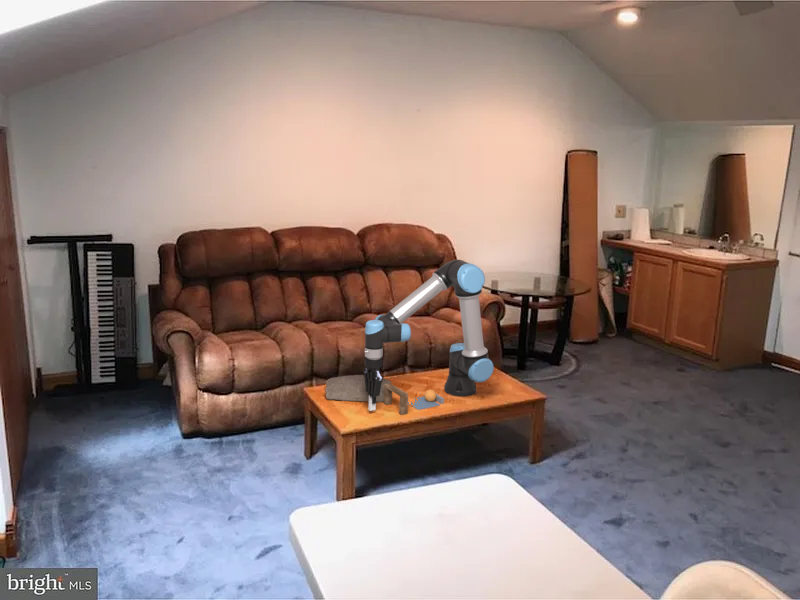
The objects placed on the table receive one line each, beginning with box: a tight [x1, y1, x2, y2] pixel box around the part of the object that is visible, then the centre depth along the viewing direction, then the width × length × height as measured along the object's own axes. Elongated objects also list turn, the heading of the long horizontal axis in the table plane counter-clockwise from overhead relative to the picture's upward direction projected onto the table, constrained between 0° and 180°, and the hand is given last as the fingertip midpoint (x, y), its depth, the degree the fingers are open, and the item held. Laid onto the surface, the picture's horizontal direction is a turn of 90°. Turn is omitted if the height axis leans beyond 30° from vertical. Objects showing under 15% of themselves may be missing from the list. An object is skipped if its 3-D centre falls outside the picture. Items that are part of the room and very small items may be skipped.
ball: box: [423, 389, 437, 402], centre depth 306 cm, size 6×6×6 cm
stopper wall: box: [434, 393, 445, 405], centre depth 309 cm, size 1×10×2 cm, turn 33°
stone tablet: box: [324, 374, 392, 403], centre depth 312 cm, size 20×8×30 cm
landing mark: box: [408, 395, 441, 411], centre depth 305 cm, size 12×12×1 cm
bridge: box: [383, 382, 409, 416], centre depth 296 cm, size 3×14×9 cm, turn 33°
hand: (372, 409), depth 290 cm, fingers closed
